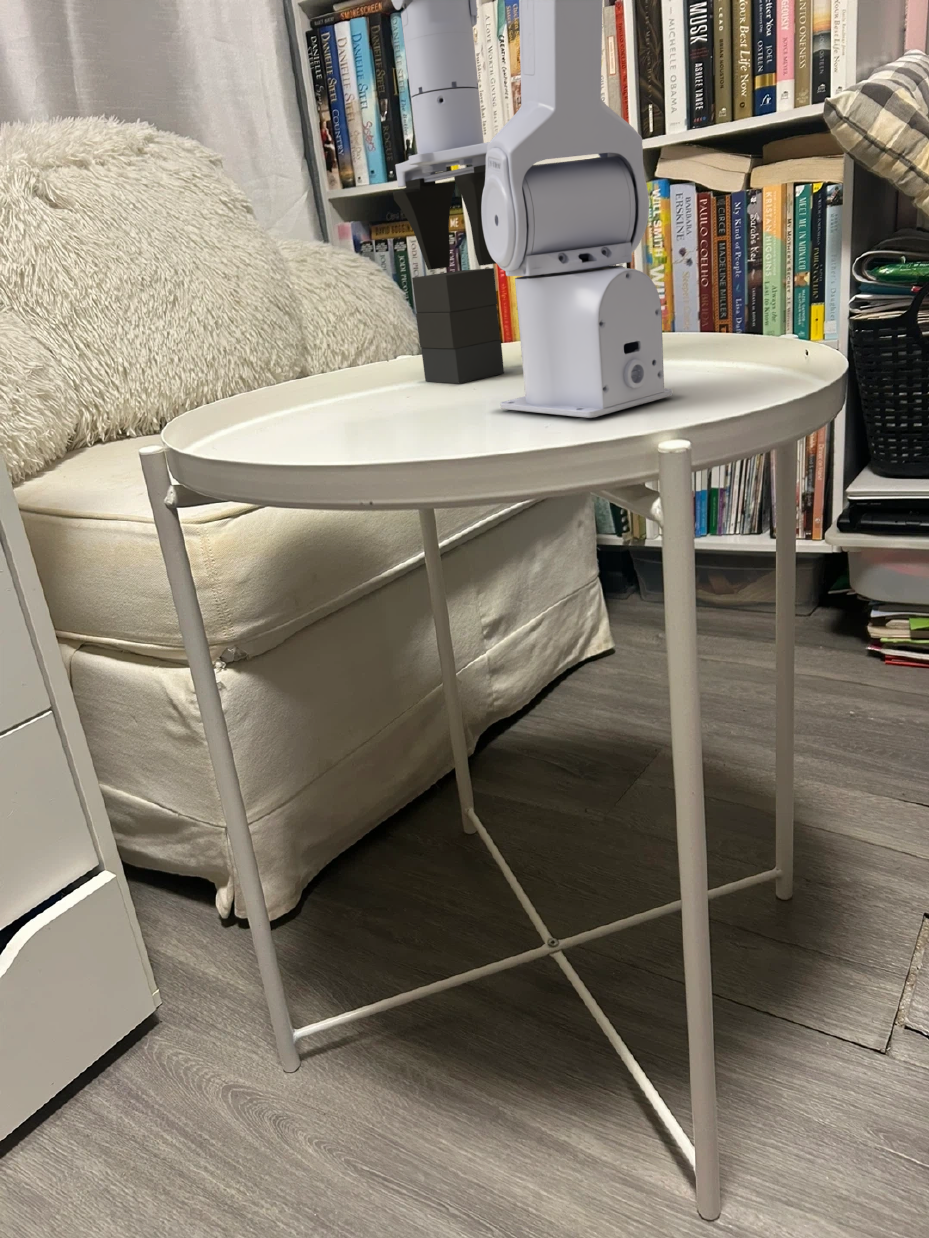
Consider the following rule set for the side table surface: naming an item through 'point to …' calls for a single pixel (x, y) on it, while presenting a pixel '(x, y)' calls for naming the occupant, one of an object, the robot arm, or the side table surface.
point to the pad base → (463, 362)
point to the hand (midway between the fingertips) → (463, 266)
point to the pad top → (455, 291)
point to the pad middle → (458, 327)
